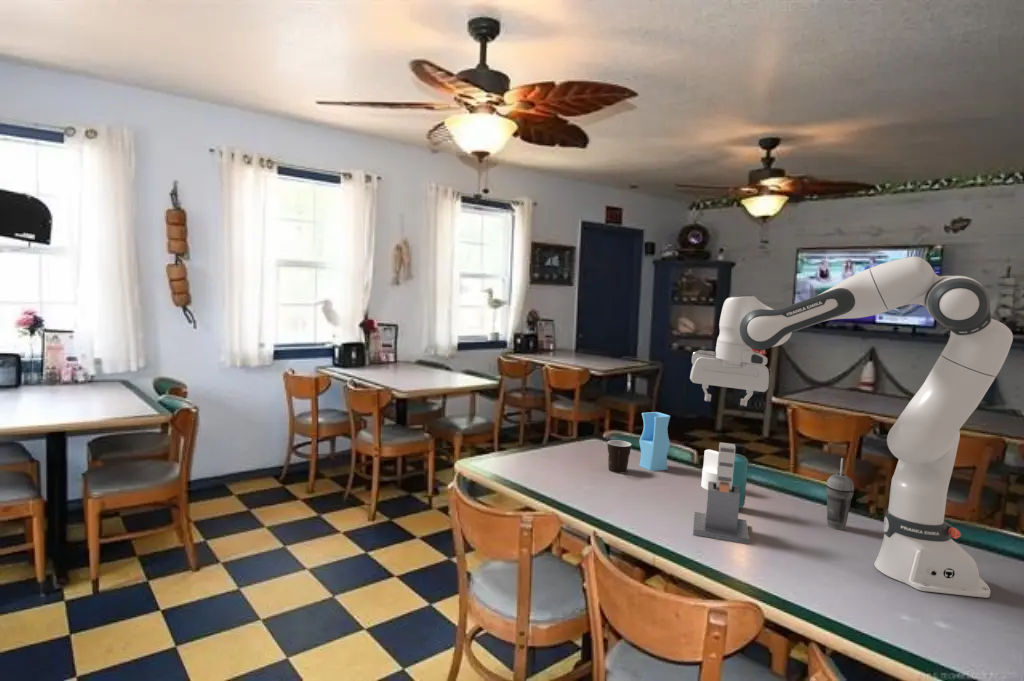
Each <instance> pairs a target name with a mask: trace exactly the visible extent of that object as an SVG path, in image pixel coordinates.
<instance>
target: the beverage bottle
mask: <svg viewBox="0 0 1024 681" xmlns="http://www.w3.org/2000/svg"><path fill="white" fill-rule="evenodd" d="M734 444H735V447H736V448H735V459H734V471H733V482H732V485H738V486H739V492H740V500H739V508H744V506H745V503H746V501H745V500H746V491H747V478H748V474H747V473H748V472H747V471H748V463H749V460H748V459H747V458H746V456H745V455H743V454H745V451H746V449H745V445H744V444H740V443H734Z"/></svg>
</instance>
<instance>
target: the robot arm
mask: <svg viewBox="0 0 1024 681" xmlns="http://www.w3.org/2000/svg"><path fill="white" fill-rule="evenodd" d="M908 305H921V306H923V307H925V309H926V310H927V312H928V314H929V315H930V316H931V317H932V319H934V320H935V321H937V322H938V324H940V325H941V326H944V327H945V328H946V329H948V330H949V331H950V335H949V338H948V340H947V344H946V345H945V347H944V348H943V349H942V351H941V353H940V355H939V357H938V358H937V360H936V362H935V364H933V367H932V369H931V370H930V372H929V374H928V375H927V377H926V379H925V381H923V382H924V383H923V384H922V385H921V386H920V388H918V391H917V392H916V393H915V394H914V395H913V397H912V398H911V399H910V401H909V402H908V404H907V405H906V407H905V408H904V410H903V411H902V412H901V413H900V415H899V416H898V418H897V419H896V421H895V422H894V423H893V425H892V427H891V428H890V429H889V431H888V434H887V437H886V444H887V447H888V449H889V451H890V453H891V454H892V455H893V456H894V457H895V458H897V460H898V461H897V464H896V467H895V470H894V474H893V475H892V478H891V484H890V490H889V499H888V500H889V501H888V508H887V509H886V511H885V516H884V519H883V521H884V522H883V533H884V535H883V538H882V543H881V546H880V549H879V553H878V555H877V556H876V559H875V561H874V563H873V564H874V567H875V568H876V569H877V570H878V571H879V572H880V573H881V574H883V575H886V576H887V577H889V578H892V579H894V580H896V581H899V582H901V583H904V584H906V585H908V586H910V587H912V588H914V589H916V590H919V591H921V592H930V593H938V594H939V593H940V594H946V595H947V594H948V595H957V596H964V597H965V596H967V597H975V598H976V597H978V598H985V599H987V598H988V599H989V598H990V597H991V589H990V587H989V585H988V584H987V583H986V581H985V580H983V579H982V578H981V577H980V574H979V568H978V565H977V562H976V561H975V559H974V558H973V557H972V556H971V555H970V554H969V553H968V552H967V551H966V550H964V548H962V547H961V546H960V545H959V544H958V543H957V542H956V541H954V540H953V539H959V538H961V536H962V533H961V531H960V530H959V529H958V528H955V527H953V526H952V525H951V524H949V523H948V522H946V521H945V513H946V506H947V505H946V504H947V497H948V496H947V495H948V490H949V485H950V481H951V478H952V474H953V470H954V466H955V462H956V457H957V452H958V447H959V443H960V438H961V432H960V429H961V428H962V426H963V425H964V424H965V423H966V422H967V420H968V419H969V417H971V415H972V414H973V413H974V412H975V410H976V409H977V408H978V406H979V405H980V403H981V402H982V400H983V398H985V395H986V393H988V390H989V389H990V387H991V386H992V384H993V382H994V381H995V379H996V378H997V377H998V374H999V373H1000V371H1001V369H1002V367H1003V365H1004V363H1005V361H1006V359H1007V357H1008V356H1009V355H1008V354H1009V352H1010V349H1011V346H1012V343H1013V340H1014V335H1013V332H1012V330H1011V329H1010V328H1009V327H1008V326H1007V325H1006V324H1004V323H1002V322H1000V321H999V320H997V319H995V318H992V313H991V301H990V296H989V294H988V291H987V290H986V289H985V288H984V286H983V285H982V284H981V283H980V282H979V281H977V280H976V279H974V278H971V277H969V276H965V275H953V274H952V275H951V274H939V273H938V274H937V273H936V272H935V270H934V269H933V267H932V266H931V264H930V263H929V262H928V261H926V259H924V258H922V257H919V256H909V257H903V258H898V259H895V260H890V261H888V262H886V261H885V262H883V263H880V264H878V265H875V266H871V267H870V268H866V269H864V270H861V271H859V272H857V273H856V274H855V273H854V275H851V276H849V277H847V278H846V279H844V280H842V281H840V282H839V283H837V284H835V285H832V287H830V288H828V289H826V290H825V291H823V292H822V293H819V294H817V295H815V296H812V297H809V298H807V299H804V300H801V301H799V302H796V303H793V304H790V305H787V306H783V307H780V308H775V309H774V308H772V307H770V306H768V305H767V304H765V303H763V302H761V301H760V300H759V299H758V298H756V296H755V295H751V294H739V295H737V294H735V295H731V296H729V297H727V298H726V299H725V300H724V302H723V305H722V308H721V313H720V318H719V324H718V326H719V327H718V328H719V335H718V336H717V340H716V346H715V350H714V351H712V350H703V349H699V350H697V351H694V352H693V353H692V355H691V364H692V367H691V370H690V373H689V374H690V376H689V379H690V381H691V382H692V383H693V384H700V385H702V386H701V388H702V390H703V392H704V401H705V402H711V401H712V394H710V393H708V390H707V389H709V386H714V387H715V386H716V387H721V388H723V387H724V388H730V389H738V390H746V392H745V393H746V395H745V396H744V397H743V398H740V403H739V405H740V406H742V407H743V406H744V407H747V405H748V401H749V400H750V398H751V397H752V396H753V395H754V392H760V393H761V392H762V393H765V392H767V390H768V389H769V385H770V384H769V383H770V372H769V369H768V367H767V366H766V365H767V364H768V357H766V356H765V355H763V354H761V353H758V352H757V351H755V350H758V351H761V350H762V351H763V350H767V349H770V348H774V347H778V346H781V345H783V344H784V343H787V342H788V340H790V338H791V337H792V335H793V332H797V331H799V330H802V329H804V328H805V329H806V328H809V327H810V326H814V325H816V324H819V323H823V322H826V321H827V322H828V321H832V320H842V319H845V320H846V319H860V318H867V317H871V316H876V315H879V314H883V313H886V312H889V311H892V310H895V309H898V308H901V307H904V306H908ZM752 349H754V350H752Z"/></svg>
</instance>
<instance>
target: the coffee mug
mask: <svg viewBox="0 0 1024 681" xmlns="http://www.w3.org/2000/svg"><path fill="white" fill-rule="evenodd" d="M606 445H607V463H608V465H607V466H608V470H609V471H610V472H612V473H614V474H615V473H617V474H624V473H627V471H628V465H629V460H630V456H631V450H632V443H631V442H629V441H625V440H618V439H617V440H615V439H613V440H608V441H607V444H606Z"/></svg>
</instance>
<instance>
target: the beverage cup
mask: <svg viewBox="0 0 1024 681" xmlns="http://www.w3.org/2000/svg"><path fill="white" fill-rule="evenodd" d="M843 466H844V457H841V458H840V470H839V473H834V474H832V475H831V476H829V478H828V479H827V480H826V484H825V487H826V488H825V490H826V496H827V497H826V500H827V501H826V522H827V527H828V528H831V529H834V530H838V531H843V530H846V525H847V522H848V518H849V511H850V506H851V502H852V498H853V496H854V492H855V488H854V487H855V486H854V485H855V484H854V481H853V480H852V479H851V477H849V476H848V475H846V474H844V473H843Z"/></svg>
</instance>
